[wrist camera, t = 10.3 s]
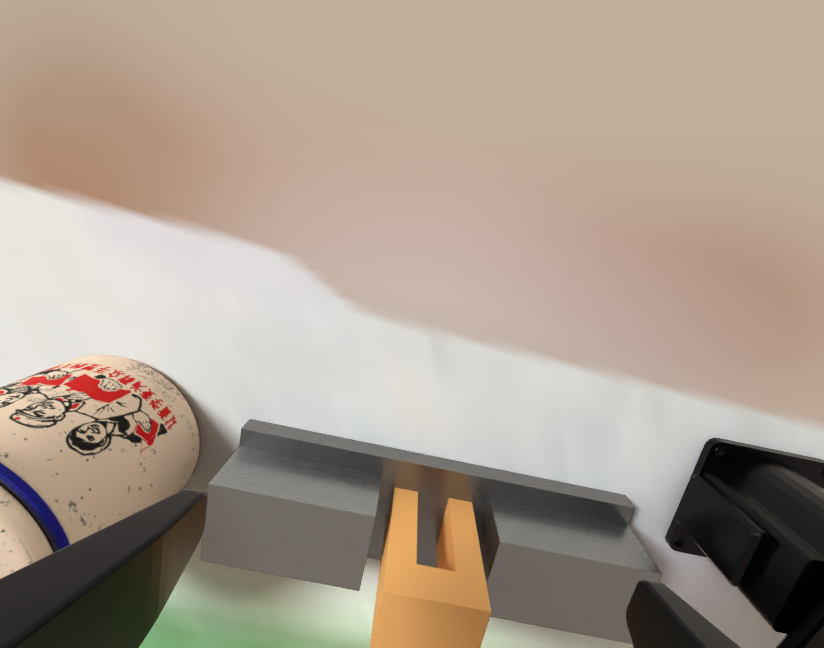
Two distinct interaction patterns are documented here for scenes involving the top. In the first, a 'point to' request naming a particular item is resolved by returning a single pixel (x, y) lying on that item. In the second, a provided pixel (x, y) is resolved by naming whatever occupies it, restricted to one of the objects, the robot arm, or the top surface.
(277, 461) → the rail
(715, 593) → the top surface
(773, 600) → the robot arm
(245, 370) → the top surface
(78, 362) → the teacup with lid
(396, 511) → the clip
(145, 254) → the top surface
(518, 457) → the top surface
